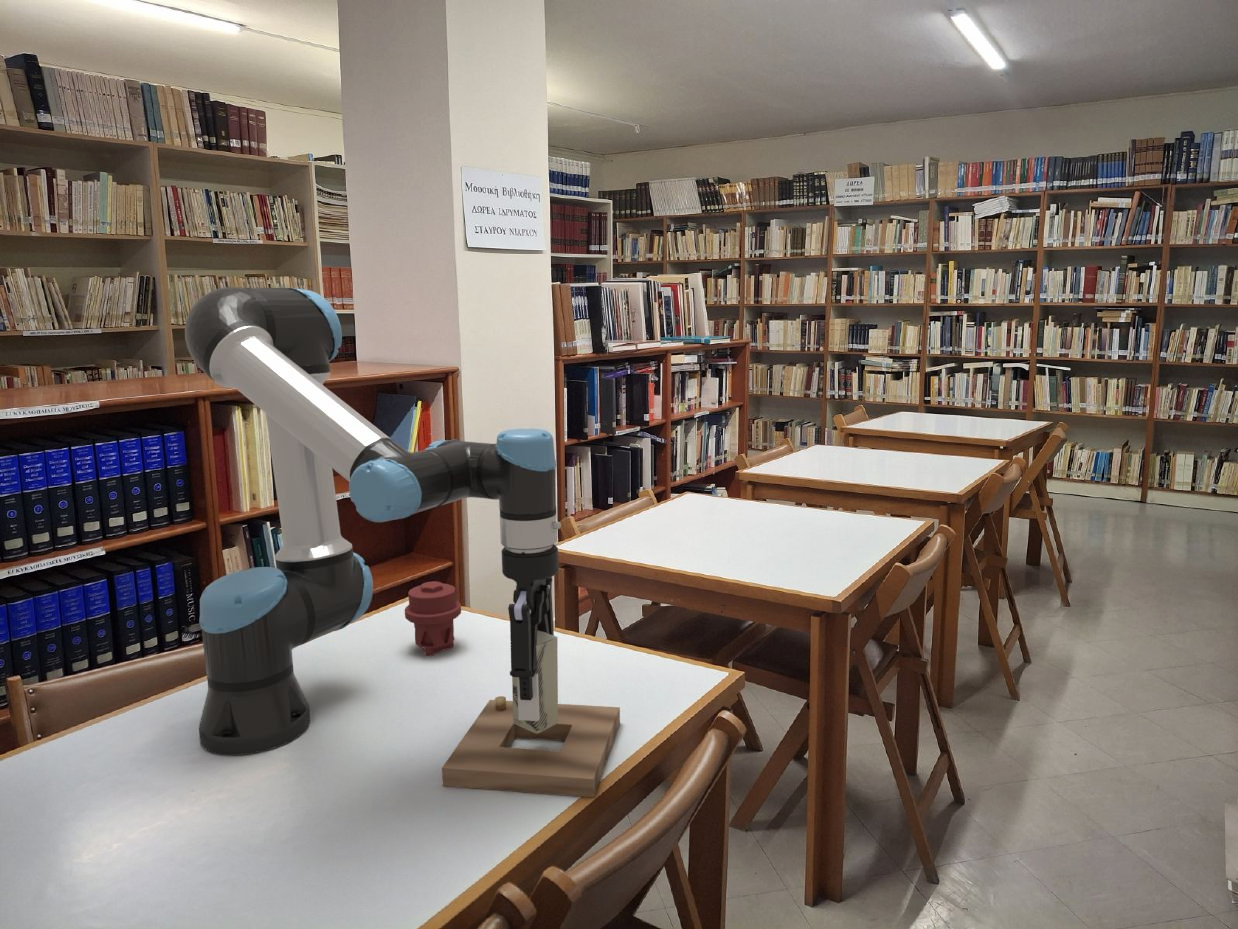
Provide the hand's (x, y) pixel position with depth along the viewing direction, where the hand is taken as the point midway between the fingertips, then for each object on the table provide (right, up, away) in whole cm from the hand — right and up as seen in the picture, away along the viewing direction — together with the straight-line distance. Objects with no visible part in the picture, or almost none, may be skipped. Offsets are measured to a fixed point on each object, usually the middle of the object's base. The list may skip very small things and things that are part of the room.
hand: (535, 707), depth 118 cm
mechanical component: (-22, 0, +39) cm, 45 cm away
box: (0, -3, 0) cm, 3 cm away
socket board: (0, -7, +1) cm, 7 cm away
